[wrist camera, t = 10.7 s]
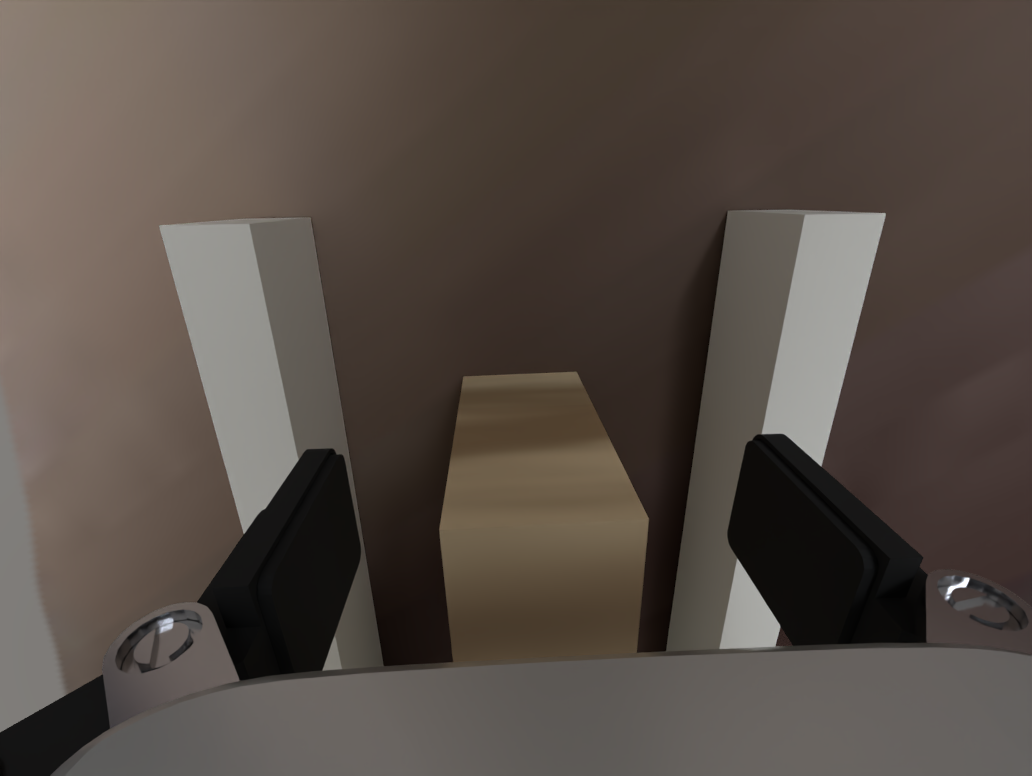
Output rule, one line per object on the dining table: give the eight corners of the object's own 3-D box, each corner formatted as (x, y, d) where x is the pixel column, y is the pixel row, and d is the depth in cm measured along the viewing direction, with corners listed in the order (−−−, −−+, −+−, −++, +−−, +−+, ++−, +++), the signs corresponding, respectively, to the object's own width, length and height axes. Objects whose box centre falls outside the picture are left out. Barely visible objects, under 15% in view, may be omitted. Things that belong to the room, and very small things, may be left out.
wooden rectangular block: (463, 375, 17) (439, 530, 9) (576, 370, 17) (648, 519, 9) (481, 627, 21) (476, 879, 13) (570, 622, 21) (616, 868, 14)
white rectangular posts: (244, 218, 15) (158, 225, 11) (789, 209, 15) (886, 213, 11) (341, 680, 22) (311, 779, 18) (705, 661, 23) (747, 751, 19)
